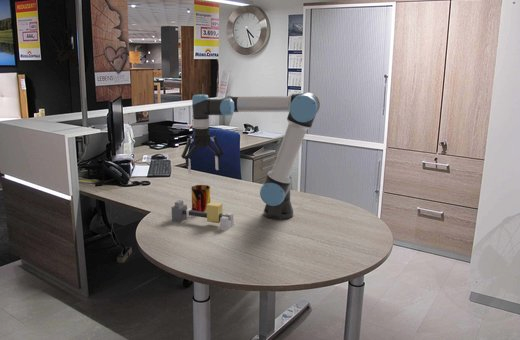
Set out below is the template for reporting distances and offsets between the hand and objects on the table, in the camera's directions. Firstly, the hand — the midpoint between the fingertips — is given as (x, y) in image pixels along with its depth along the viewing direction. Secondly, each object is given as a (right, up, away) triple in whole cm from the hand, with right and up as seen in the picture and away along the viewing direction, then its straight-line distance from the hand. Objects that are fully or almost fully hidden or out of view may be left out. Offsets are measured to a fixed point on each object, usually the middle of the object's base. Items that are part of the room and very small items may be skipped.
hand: (203, 170), depth 219 cm
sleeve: (+6, -24, -4) cm, 25 cm away
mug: (-3, -21, +17) cm, 27 cm away
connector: (-12, -24, +3) cm, 27 cm away
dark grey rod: (-1, -23, -2) cm, 23 cm away
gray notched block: (+12, -27, -6) cm, 30 cm away
